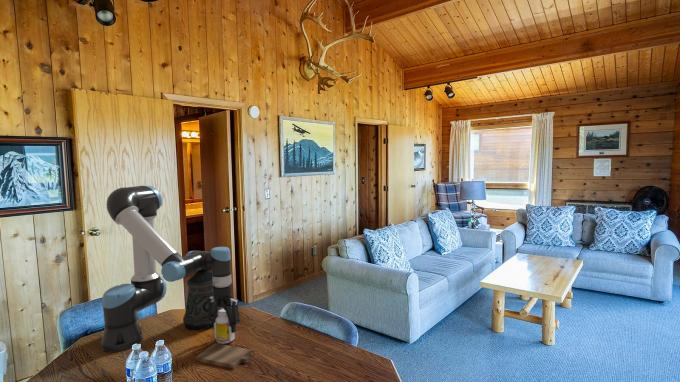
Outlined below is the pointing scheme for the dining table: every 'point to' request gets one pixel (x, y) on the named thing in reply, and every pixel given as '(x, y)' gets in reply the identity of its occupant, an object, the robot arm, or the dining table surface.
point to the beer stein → (198, 301)
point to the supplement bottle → (222, 327)
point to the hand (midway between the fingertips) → (224, 338)
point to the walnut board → (224, 355)
